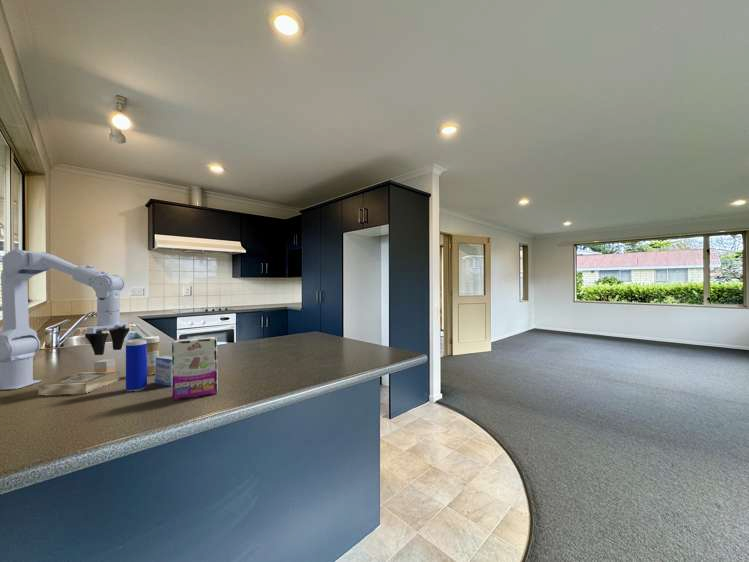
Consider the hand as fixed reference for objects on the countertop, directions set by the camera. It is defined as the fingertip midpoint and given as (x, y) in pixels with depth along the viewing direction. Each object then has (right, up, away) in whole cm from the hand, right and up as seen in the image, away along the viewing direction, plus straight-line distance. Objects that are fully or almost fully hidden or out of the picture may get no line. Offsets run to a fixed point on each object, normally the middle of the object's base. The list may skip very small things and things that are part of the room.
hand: (108, 352), depth 101 cm
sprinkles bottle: (+7, -10, +10) cm, 16 cm away
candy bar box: (+36, -10, -12) cm, 39 cm away
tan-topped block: (-6, -10, +6) cm, 14 cm away
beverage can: (+15, -10, -7) cm, 19 cm away
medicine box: (+21, -10, -1) cm, 24 cm away
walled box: (-5, -10, -5) cm, 12 cm away
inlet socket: (-5, -10, -5) cm, 12 cm away
